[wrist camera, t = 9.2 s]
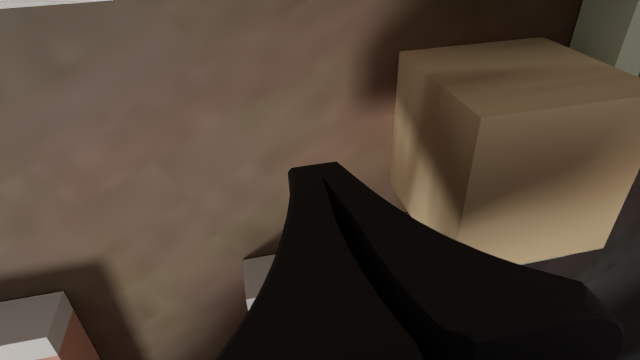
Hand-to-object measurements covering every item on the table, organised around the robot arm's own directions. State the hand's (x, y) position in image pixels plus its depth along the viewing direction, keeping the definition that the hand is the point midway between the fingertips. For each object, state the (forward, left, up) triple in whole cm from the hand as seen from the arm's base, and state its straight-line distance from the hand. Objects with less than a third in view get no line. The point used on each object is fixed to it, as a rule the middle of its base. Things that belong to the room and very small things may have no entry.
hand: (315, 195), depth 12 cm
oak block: (0, -6, -3) cm, 7 cm away
